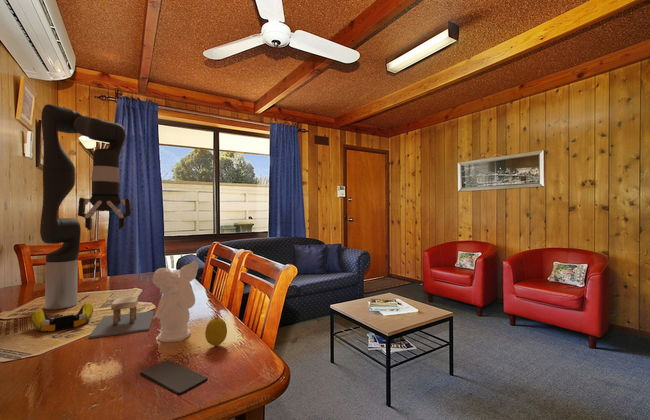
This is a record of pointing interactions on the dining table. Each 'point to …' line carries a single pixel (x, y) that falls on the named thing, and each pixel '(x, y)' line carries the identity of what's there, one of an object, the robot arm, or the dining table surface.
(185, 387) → the smartphone
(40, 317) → the gaming controller
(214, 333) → the lemon
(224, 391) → the dining table surface
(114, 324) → the stool
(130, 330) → the mat
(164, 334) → the cherub figurine
